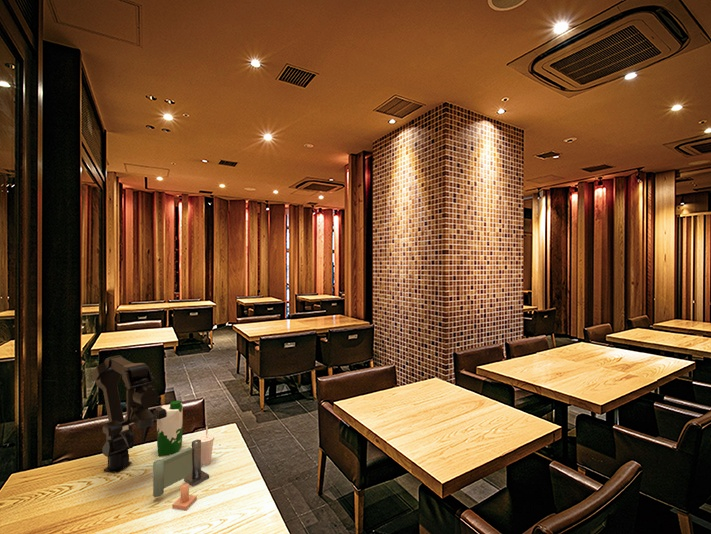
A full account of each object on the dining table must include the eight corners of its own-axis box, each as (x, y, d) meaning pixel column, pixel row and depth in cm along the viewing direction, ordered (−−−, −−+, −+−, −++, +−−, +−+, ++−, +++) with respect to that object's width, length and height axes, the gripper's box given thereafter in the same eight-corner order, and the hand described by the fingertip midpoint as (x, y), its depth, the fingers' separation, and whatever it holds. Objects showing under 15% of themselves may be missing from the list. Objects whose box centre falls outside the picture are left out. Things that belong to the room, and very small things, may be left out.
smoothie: (207, 468, 130) (207, 431, 130) (192, 466, 131) (192, 429, 131) (217, 459, 136) (217, 423, 136) (203, 457, 137) (203, 422, 137)
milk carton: (179, 455, 139) (178, 405, 139) (154, 458, 137) (154, 408, 137) (184, 444, 148) (184, 397, 148) (161, 447, 145) (161, 399, 146)
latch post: (172, 508, 108) (172, 489, 108) (183, 498, 113) (183, 479, 113) (186, 510, 107) (186, 491, 107) (196, 499, 112) (196, 481, 112)
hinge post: (199, 472, 127) (199, 435, 127) (209, 478, 123) (208, 440, 124) (183, 480, 122) (183, 442, 122) (193, 486, 119) (192, 447, 119)
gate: (188, 475, 122) (188, 446, 122) (193, 478, 120) (193, 448, 120) (151, 494, 112) (151, 462, 112) (155, 498, 110) (155, 465, 110)
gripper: (115, 415, 110) (115, 464, 110) (174, 397, 125) (174, 440, 125) (101, 407, 116) (102, 453, 116) (159, 391, 132) (159, 431, 132)
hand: (136, 444), depth 122 cm, fingers open, 4 cm apart
